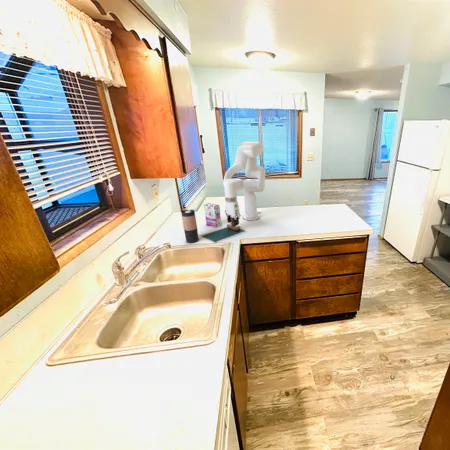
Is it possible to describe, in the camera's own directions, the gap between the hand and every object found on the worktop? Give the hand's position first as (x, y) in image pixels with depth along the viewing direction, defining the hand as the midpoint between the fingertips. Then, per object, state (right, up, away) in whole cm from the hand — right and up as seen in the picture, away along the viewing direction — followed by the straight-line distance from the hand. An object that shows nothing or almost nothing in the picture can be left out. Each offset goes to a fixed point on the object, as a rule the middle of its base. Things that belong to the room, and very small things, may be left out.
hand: (233, 223), depth 168 cm
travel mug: (-22, -11, -15) cm, 29 cm away
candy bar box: (-18, -2, +11) cm, 21 cm away
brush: (0, -5, +2) cm, 5 cm away
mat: (-5, -7, -4) cm, 10 cm away
